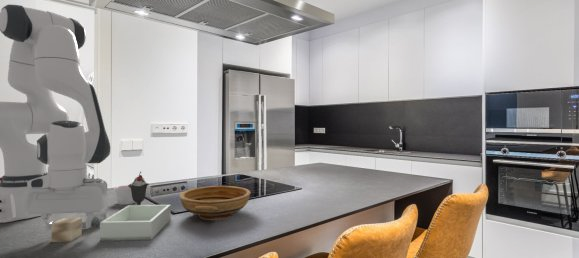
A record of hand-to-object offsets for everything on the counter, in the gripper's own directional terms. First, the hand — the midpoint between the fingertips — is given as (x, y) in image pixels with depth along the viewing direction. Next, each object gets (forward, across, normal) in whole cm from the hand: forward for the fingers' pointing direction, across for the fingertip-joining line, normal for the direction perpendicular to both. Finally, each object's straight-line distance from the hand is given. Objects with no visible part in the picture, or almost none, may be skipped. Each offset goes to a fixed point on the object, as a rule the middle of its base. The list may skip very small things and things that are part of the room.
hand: (68, 228), depth 86 cm
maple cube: (+3, 0, 0) cm, 3 cm away
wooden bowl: (+3, -38, -19) cm, 42 cm away
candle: (+3, 0, -38) cm, 38 cm away
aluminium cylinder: (+3, -2, -12) cm, 12 cm away
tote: (+3, -16, -6) cm, 18 cm away
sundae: (+3, -10, -24) cm, 26 cm away
